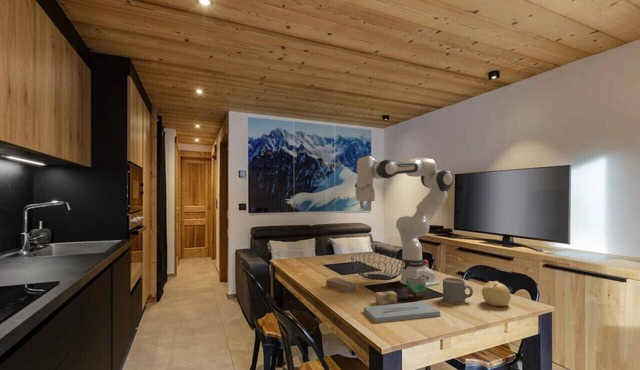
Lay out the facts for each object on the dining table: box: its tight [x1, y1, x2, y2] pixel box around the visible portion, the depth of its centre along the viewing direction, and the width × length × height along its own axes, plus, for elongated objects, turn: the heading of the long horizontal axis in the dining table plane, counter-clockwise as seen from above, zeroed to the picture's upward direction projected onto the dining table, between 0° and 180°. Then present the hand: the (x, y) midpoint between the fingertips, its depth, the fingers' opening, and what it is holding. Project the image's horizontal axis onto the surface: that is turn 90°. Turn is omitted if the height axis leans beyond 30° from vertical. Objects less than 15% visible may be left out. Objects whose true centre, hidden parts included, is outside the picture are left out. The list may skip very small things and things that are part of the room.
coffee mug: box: [442, 277, 474, 305], centre depth 155 cm, size 13×10×10 cm
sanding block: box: [375, 290, 398, 306], centre depth 153 cm, size 9×4×5 cm, turn 103°
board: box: [363, 300, 441, 324], centre depth 139 cm, size 30×13×2 cm, turn 103°
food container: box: [406, 275, 427, 300], centre depth 161 cm, size 12×6×10 cm, turn 117°
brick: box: [325, 276, 357, 294], centre depth 176 cm, size 17×8×5 cm, turn 43°
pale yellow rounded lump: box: [481, 280, 511, 307], centre depth 151 cm, size 12×12×11 cm
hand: (365, 209), depth 178 cm, fingers open, 8 cm apart
